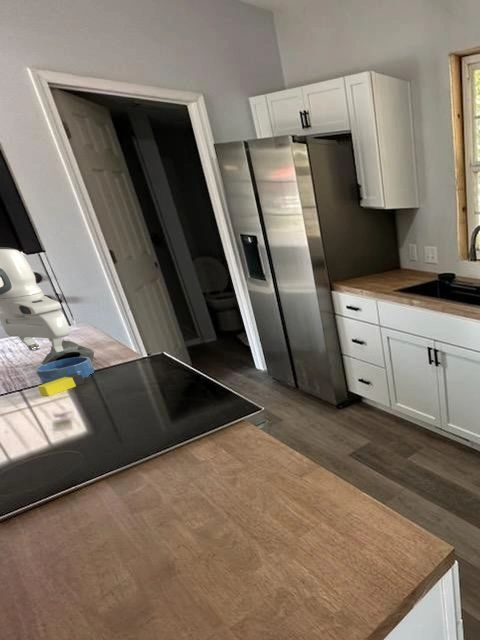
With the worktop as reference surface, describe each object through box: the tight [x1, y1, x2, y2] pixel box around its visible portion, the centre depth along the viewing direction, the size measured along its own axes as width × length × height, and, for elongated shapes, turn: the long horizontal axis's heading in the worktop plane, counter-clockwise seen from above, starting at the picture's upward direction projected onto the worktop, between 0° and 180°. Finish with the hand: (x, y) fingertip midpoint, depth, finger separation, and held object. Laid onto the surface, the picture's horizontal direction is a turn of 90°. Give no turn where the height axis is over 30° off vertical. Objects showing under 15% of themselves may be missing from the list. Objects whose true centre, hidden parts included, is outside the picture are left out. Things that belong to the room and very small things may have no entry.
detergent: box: [41, 340, 95, 365], centre depth 145 cm, size 13×7×25 cm
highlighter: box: [37, 374, 86, 397], centre depth 124 cm, size 9×3×3 cm, turn 167°
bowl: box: [34, 357, 96, 385], centre depth 132 cm, size 12×12×5 cm
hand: (46, 350), depth 120 cm, fingers open, 8 cm apart
